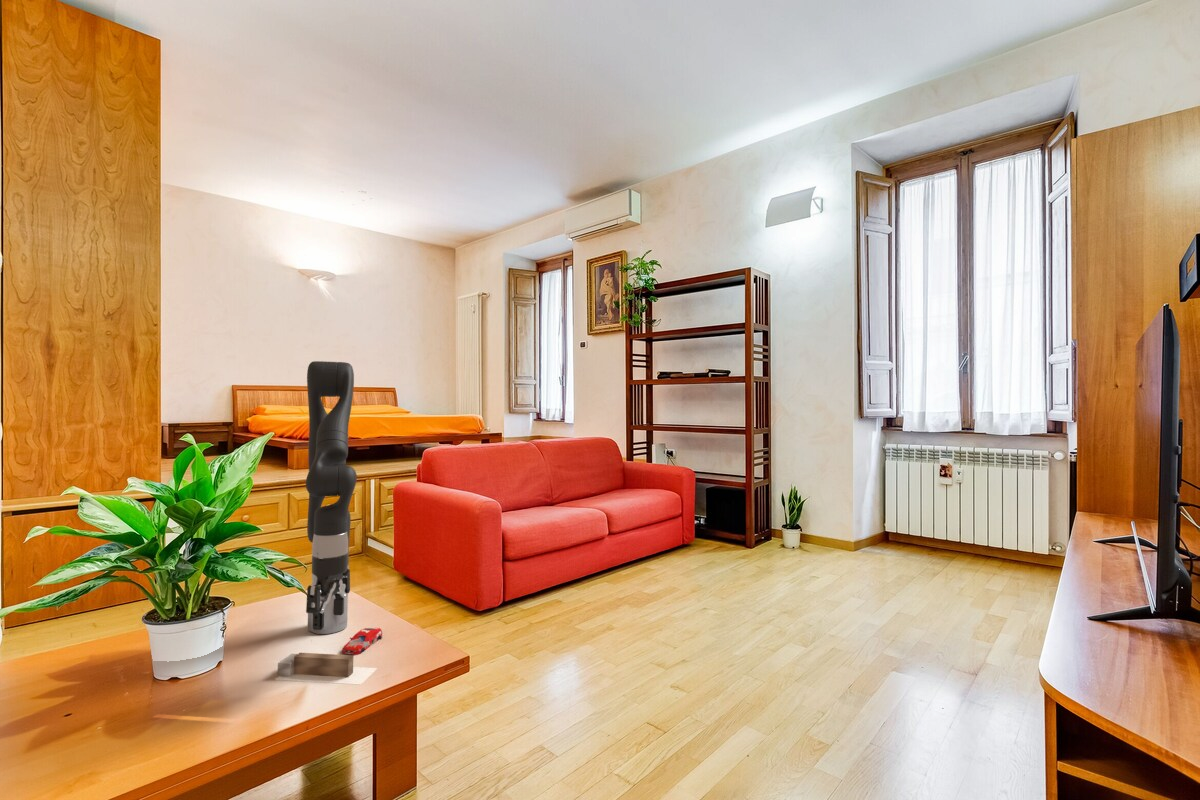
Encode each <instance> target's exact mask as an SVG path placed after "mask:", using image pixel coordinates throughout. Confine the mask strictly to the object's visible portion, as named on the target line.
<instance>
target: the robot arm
mask: <svg viewBox="0 0 1200 800" xmlns="http://www.w3.org/2000/svg"><path fill="white" fill-rule="evenodd" d="M306 373H307V374H306V385H307V386H306V387H307V399H308V400H307V402H308V403H307V405H308V414H309V415H308V419H309V420H308V421H309V422H308V423H309V425H308V452H307V453H308V457H307V460H308V474H307V476H306V479H305V488H306V489H305V490H306V491H307V493H308V505H307V506H308V509H307V525H306V526H307V529H306V530H307V533H306V534H307V538H308V541H309V542H310V543H311V545H312V546H311V578H312V579H311V584H310V585H308V586H307V588H306V590H307V591H306V605H305V606H306V607H305V608H306V609H305V612H306V614H307V629H306V630H307V632H311V633H314V634H317V635H327V634H328V635H329V634H334V633H338V632H340V631H343V630H344V629H346V628H347V627H348V618H349V617H348V612H349V611H348V610H349V609H348V608H349V607H348V606H349V605H348V603H349V593H350V592H351V571H350V568H349V566H350V564H349V563H350V562H349V561H350V558H349V557H350V556H349V554H350V553H349V552H350V551H349V549H350V535H351V534H350V533H351V519H352V518H351V513H350V510H349V508H350V503H351V500H352V497H353V494H354V491H355V489H356V488H355V487H356V484H357V481H358V480H357V479H358V476H357V472H356V470H355V468H354V467H353V466H350V465H346V464H347V458H348V455H349V425H350V424H349V423H350V418H351V412H352V404H353V397H354V388H355V386H354V384H355V374H354V368H353V366H352V365H351V364H350V363H349V362H344V361H343V362H342V361H323V360H321V361H320V360H317V361H316V360H314V361H311V362H310V363H309V364H308V366H307V372H306ZM322 397H324V398H325V397H326V398H329V397H331V398H332V397H333V398H335V397H336V398H338V400H337V402H336V404H335V405H334V407H333V408H332V409H331V410H330V411H329V412H328V413H327V410H326V409H325V407H324V403H323V400H322ZM337 496H338V497H339V498H338V500H336V502H334V503H331V504H328V505H324V506H322V505H323V502H324V500H325V497H337Z"/></svg>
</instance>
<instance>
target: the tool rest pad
mask: <svg viewBox="0 0 1200 800" xmlns="http://www.w3.org/2000/svg"><path fill="white" fill-rule="evenodd" d="M377 669H378V668H377V667H362V666H353V673H352V674H351V675H350V676H349V677H335V676H317V675H300V674H293V675H292V676H291V677H282V676H277V677H276V678H275V679H274V680H275V681H277V680H278V681H290V682H292V681H293V682H310V683H311V682H312V683H324V684H343V685H359V686H360V685H362V684H363V683H364V682H365V681H366V680H367V679H368V678H370V676H371V675H372V674H373V673H374V672H375V671H376V670H377Z"/></svg>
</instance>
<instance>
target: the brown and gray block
mask: <svg viewBox="0 0 1200 800" xmlns="http://www.w3.org/2000/svg"><path fill="white" fill-rule="evenodd" d="M353 667H354V655H345V654H332V653H314V652H313V653H312V652H299V653H290V654H288V655H287V656H285V658H283V659H281V660H280V661H279V662H277V677H279V676H282V677H291V676H292V675H293V674H300V675H317V676H335V677H349V676H350V675H351V674H352V673H353Z"/></svg>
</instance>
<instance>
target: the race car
mask: <svg viewBox="0 0 1200 800" xmlns="http://www.w3.org/2000/svg"><path fill="white" fill-rule="evenodd" d="M382 639H383V630H382V629H381V628H380V627H373V626H372V627H364V628H363V629H360V630H359V631H358V632H356V633H355V634H354V635H353V636H352V637H349V641H348V642H347V643H346V644H345V645H344V646H343V647H342V650H341V652H342V655H353V656H356V655H361V654H363V652H365V651H366V650H367V649H368V648H370V647H371V646H373V645H374V644H375V643H377V642H378V641H380V640H382Z"/></svg>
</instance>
